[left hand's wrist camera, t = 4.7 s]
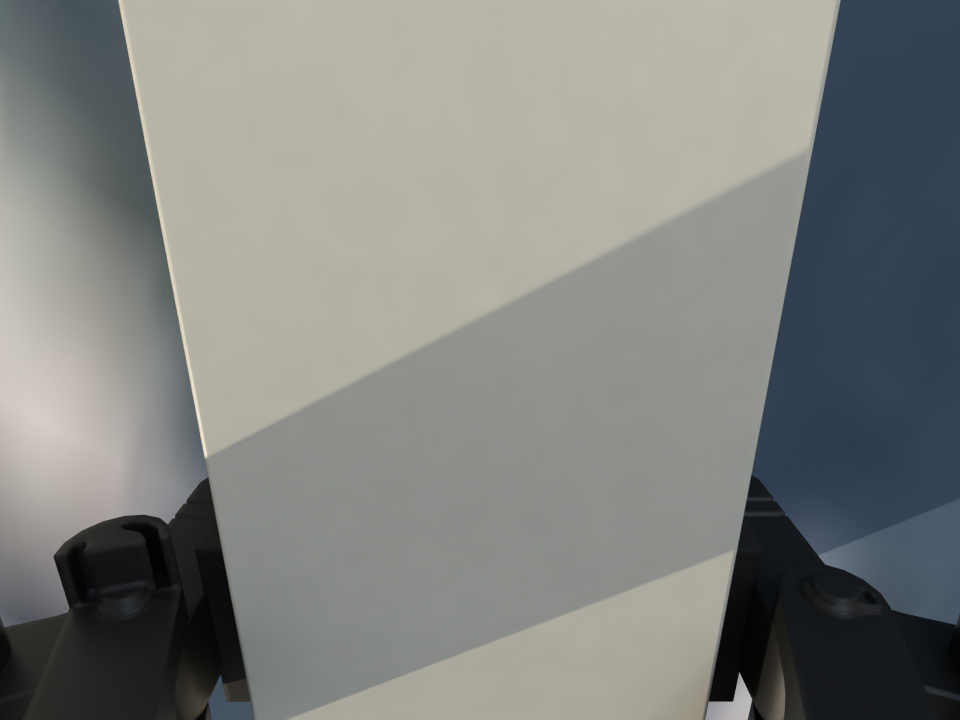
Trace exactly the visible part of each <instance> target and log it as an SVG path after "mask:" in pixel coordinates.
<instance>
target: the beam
mask: <svg viewBox="0 0 960 720" xmlns="http://www.w3.org/2000/svg"><path fill="white" fill-rule="evenodd" d="M119 5H120V11H121V16H122V21H123V26H124V32H125V37H126V42H127V48H128V53H129V58H130V64H131V69H132V74H133V80H134V85H135V90H136V95H137V101H138V106H139V111H140V117H141V122H142V127H143V133H144V138H145V143H146V148H147V154H148V159H149V164H150V170H151V175H152V180H153V186H154V191H155V196H156V202H157V207H158V212H159V217H160V223H161V228H162V233H163V239H164V244H165V249H166V255H167V260H168V265H169V270H170V276H171V281H172V286H173V292H174V297H175V302H176V308H177V313H178V318H179V324H180V329H181V334H182V339H183V345H184V350H185V355H186V361H187V366H188V371H189V377H190V382H191V387H192V392H193V398H194V403H195V408H196V414H197V419H198V424H199V430H200V435H201V440H202V446H203V451H204V456H205V461H206V467H207V472H208V477H209V483H210V488H211V493H212V499H213V504H214V509H215V514H216V520H217V525H218V530H219V536H220V541H221V546H222V552H223V557H224V562H225V568H226V573H227V578H228V583H229V589H230V594H231V599H232V605H233V610H234V615H235V621H236V626H237V631H238V636H239V642H240V647H241V652H242V658H243V663H244V668H245V674H246V679H247V684H248V690H249V695H250V700H251V705H252V711H253V716H254V720H705V718H706V712H707V707H708V702H709V697H710V691H711V686H712V681H713V675H714V670H715V665H716V659H717V654H718V649H719V643H720V638H721V633H722V627H723V622H724V617H725V611H726V606H727V601H728V596H729V590H730V585H731V580H732V574H733V569H734V564H735V558H736V553H737V548H738V542H739V537H740V532H741V526H742V521H743V516H744V510H745V505H746V500H747V495H748V489H749V484H750V479H751V473H752V468H753V463H754V457H755V452H756V447H757V441H758V436H759V431H760V425H761V420H762V415H763V409H764V404H765V399H766V394H767V388H768V383H769V378H770V372H771V367H772V362H773V356H774V351H775V346H776V340H777V335H778V330H779V324H780V319H781V314H782V308H783V303H784V298H785V293H786V287H787V282H788V277H789V271H790V266H791V261H792V255H793V250H794V245H795V239H796V234H797V229H798V223H799V218H800V213H801V208H802V202H803V197H804V192H805V186H806V181H807V176H808V170H809V165H810V160H811V154H812V149H813V144H814V138H815V133H816V128H817V122H818V117H819V112H820V107H821V101H822V96H823V91H824V85H825V80H826V75H827V69H828V64H829V59H830V53H831V48H832V43H833V37H834V32H835V27H836V21H837V16H838V11H839V6H840V0H119Z"/></svg>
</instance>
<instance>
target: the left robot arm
mask: <svg viewBox="0 0 960 720" xmlns="http://www.w3.org/2000/svg"><path fill="white" fill-rule="evenodd" d="M54 560H55V563H56V566H57V569H58V572H59V576H60V579H61V582H62V585H63V588H64V591H65V595H66V598H67V601H68V604H69V607H70V609H69V611H68V613H65V614H62V615H58V616H54V617H50V618H45V619H41V620H36V621H32V622H28V623H23V624H19V625H14V626H10V627H5V628H4V625H3V622H2V620H1V617H0V720H212V719H211V712H210V708H209V703H208V700H209V698H210V696H211V694H212V691H213V689H214V687H215V685H216V683H217V681H218V679H219V676H220V674H221V677H222V682H223V687H224V692H225V696H226V701H227V702H251V700H250V695H249V690H248V684H247V679H246V674H245V668H244V663H243V658H242V652H241V647H240V642H239V636H238V631H237V626H236V621H235V615H234V610H233V605H232V599H231V594H230V589H229V583H228V578H227V573H226V568H225V562H224V557H223V552H222V546H221V541H220V536H219V530H218V525H217V520H216V514H215V509H214V504H213V499H212V493H211V488H210V483H209V477H208V478H206V479H205V480H203V481H202V482H200V484H199V485H198V486H197V488H196V489H195V490H194V491H193V493H192V494H191V495H190V497H189V498H188V499H187V503H186V504H183V506H182V507H181V508H180V510H179V511H178V512H177V513H176V515H175V519H172V520H171V521H170V523H169V524H166V523H165V522H164V521H163V520H161V519H160V518H157V517H152V516H147V515H133V516H123V517H119V518H115V519H111V520H107V521H103V522H101V523H98V524H96V525H94V526H92V527H89V528H87V529H85V530H82V531H81V532H79V533H78V534H76V535H75V536H74V537H72V538H71V539H69V540H68V541H66V542H65V543H64V544H63V545H62V546H61V548H60V549H59V550H58V551H57V552H56V554H55V555H54ZM739 672H740V674H741V676H742V678H743V681H744V683H745V685H746V687H747V689H748V691H749V693H750V695H751V698H752V703H751V708H750V712H749V716H748V720H960V616H959V618H958V621H957V624H956V625H953V624H949V623H944V622H940V621H935V620H931V619H926V618H922V617H917V616H913V615H908V614H904V613H901V612H897V611H894V610H891V608H890V606H889V605H888V603H887V602H886V600H885V599H884V598H883V596H882V595H881V593H880V592H878V591H877V590H876V589H874V588H873V587H872V586H871V585H869V584H868V583H867V582H866V581H864V580H863V579H861V578H859V577H857V576H855V575H853V574H851V573H849V572H847V571H845V570H842V569H838V568H835V567H831V566H828V565H825V564H824V563H823V561H822V560H821V559H820V558H819V556H818V555H817V554H816V552H815V551H814V550H813V549H812V547H811V546H810V545H809V543H808V542H807V541H806V540H805V538H804V537H803V536H802V534H801V533H800V532H799V531H798V529H797V528H796V527H795V525H794V524H793V523H792V522H791V520H790V519H789V518H788V517H785V512H784V511H783V510H782V509H781V507H780V506H779V505H778V503H777V502H776V501H773V497H772V496H771V494H770V493H769V492H768V491H767V489H766V488H765V487H764V485H763V484H762V483H761V482H760V480H758V479H757V478H755V477H754V476H752V475H751V479H750V484H749V489H748V495H747V500H746V505H745V510H744V516H743V521H742V526H741V532H740V537H739V542H738V548H737V553H736V558H735V564H734V569H733V574H732V580H731V585H730V590H729V596H728V601H727V606H726V611H725V617H724V622H723V627H722V633H721V638H720V643H719V649H718V654H717V659H716V665H715V670H714V675H713V681H712V686H711V691H710V697H709V701H733V699H734V694H735V690H736V685H737V680H738V675H739Z"/></svg>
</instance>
